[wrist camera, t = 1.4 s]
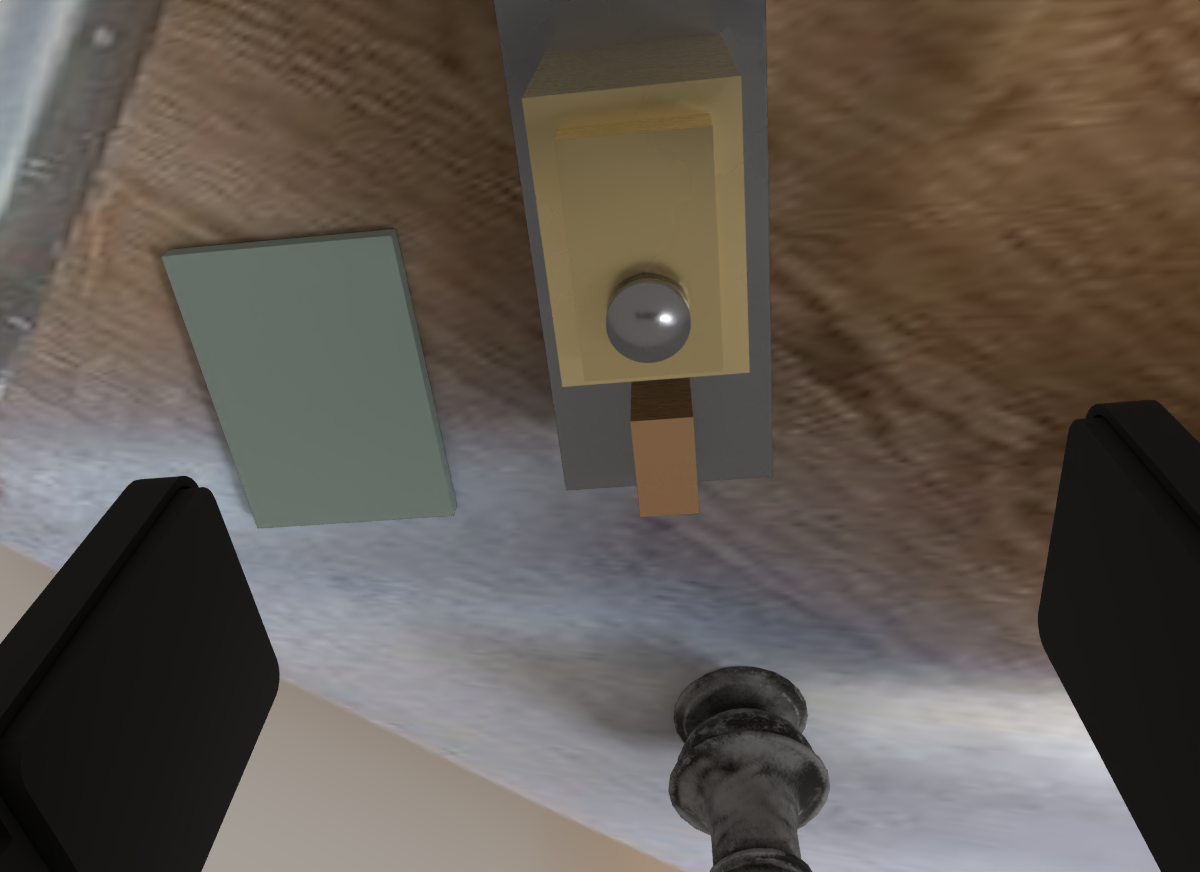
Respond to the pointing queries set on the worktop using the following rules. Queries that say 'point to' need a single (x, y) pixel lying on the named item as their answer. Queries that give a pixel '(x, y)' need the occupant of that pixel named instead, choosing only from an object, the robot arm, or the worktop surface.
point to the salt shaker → (747, 769)
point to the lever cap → (642, 208)
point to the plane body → (744, 401)
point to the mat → (317, 376)
